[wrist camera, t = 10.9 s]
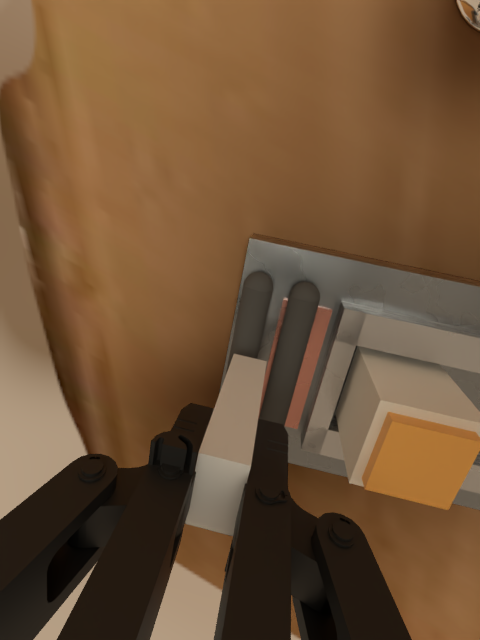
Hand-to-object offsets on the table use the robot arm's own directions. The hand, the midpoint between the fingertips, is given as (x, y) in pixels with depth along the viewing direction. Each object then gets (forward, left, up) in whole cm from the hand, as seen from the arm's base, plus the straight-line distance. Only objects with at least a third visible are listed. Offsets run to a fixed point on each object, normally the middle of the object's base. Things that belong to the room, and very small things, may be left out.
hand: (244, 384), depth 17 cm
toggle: (0, +7, -3) cm, 8 cm away
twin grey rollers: (0, +1, -3) cm, 3 cm away
